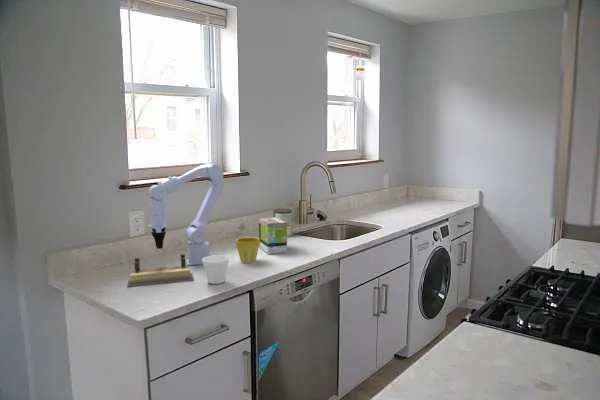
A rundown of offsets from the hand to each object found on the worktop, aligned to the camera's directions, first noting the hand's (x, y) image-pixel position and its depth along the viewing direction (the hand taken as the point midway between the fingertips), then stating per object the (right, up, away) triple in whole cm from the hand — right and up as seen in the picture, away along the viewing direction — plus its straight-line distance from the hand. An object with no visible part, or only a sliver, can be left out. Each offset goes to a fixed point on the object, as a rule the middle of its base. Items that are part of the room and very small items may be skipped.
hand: (159, 246), depth 193 cm
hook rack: (+2, -10, -4) cm, 11 cm away
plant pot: (+36, -8, +11) cm, 38 cm away
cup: (+27, -12, -18) cm, 34 cm away
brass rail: (+5, -11, -15) cm, 19 cm away
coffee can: (+49, 0, +63) cm, 80 cm away
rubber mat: (+5, -12, -15) cm, 19 cm away
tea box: (+45, -5, +31) cm, 55 cm away
